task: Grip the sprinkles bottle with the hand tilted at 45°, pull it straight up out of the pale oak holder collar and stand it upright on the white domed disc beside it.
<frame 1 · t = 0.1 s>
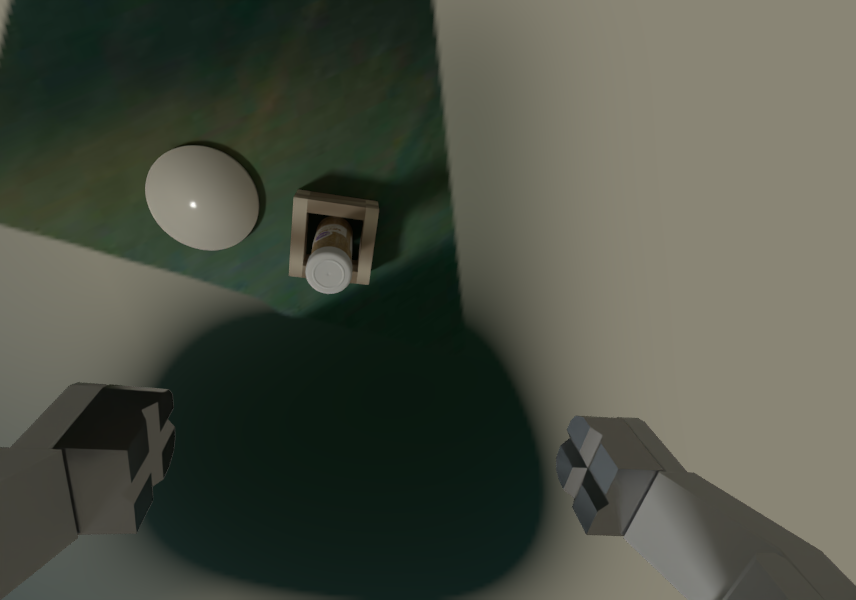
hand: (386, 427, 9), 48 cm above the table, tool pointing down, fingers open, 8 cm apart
white domed disc: (205, 199, 52), on the table
sprinkles bottle: (334, 232, 56), resting in holder collar
holder collar: (334, 233, 56), on the table
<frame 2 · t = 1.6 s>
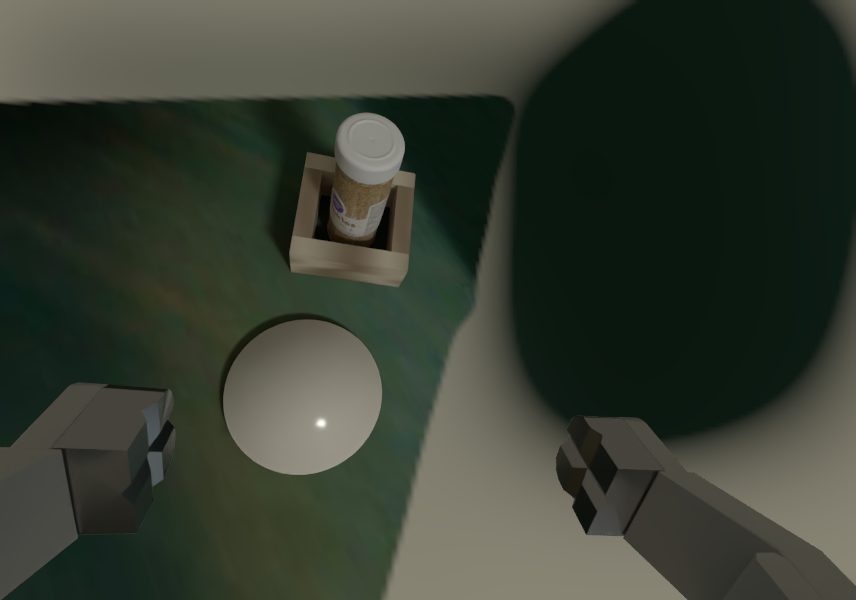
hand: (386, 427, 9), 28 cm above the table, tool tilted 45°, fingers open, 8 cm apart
white domed disc: (306, 394, 36), on the table
sprinkles bottle: (352, 233, 42), resting in holder collar
holder collar: (352, 231, 41), on the table
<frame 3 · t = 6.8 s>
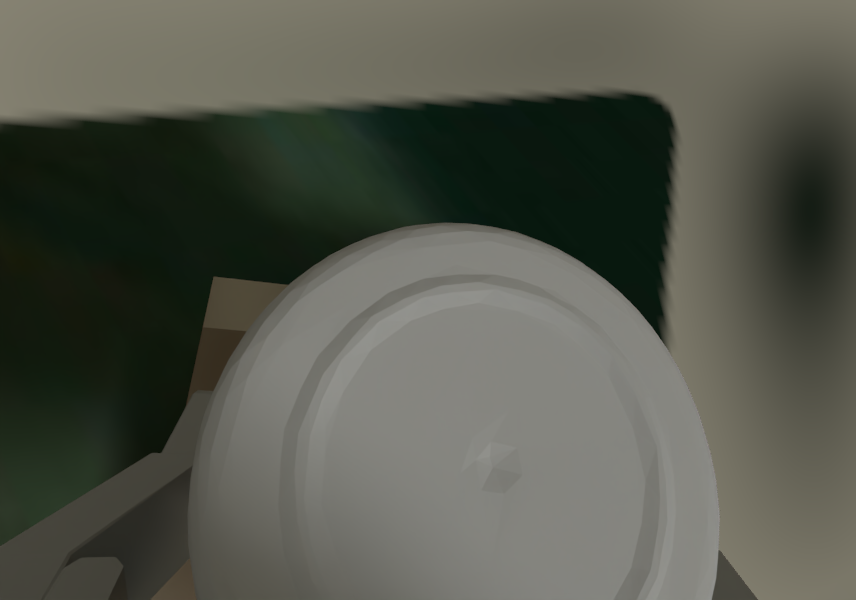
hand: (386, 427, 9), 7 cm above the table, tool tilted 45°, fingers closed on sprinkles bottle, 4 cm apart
sprinkles bottle: (354, 460, 16), resting in holder collar, touching gripper
holder collar: (355, 459, 16), on the table
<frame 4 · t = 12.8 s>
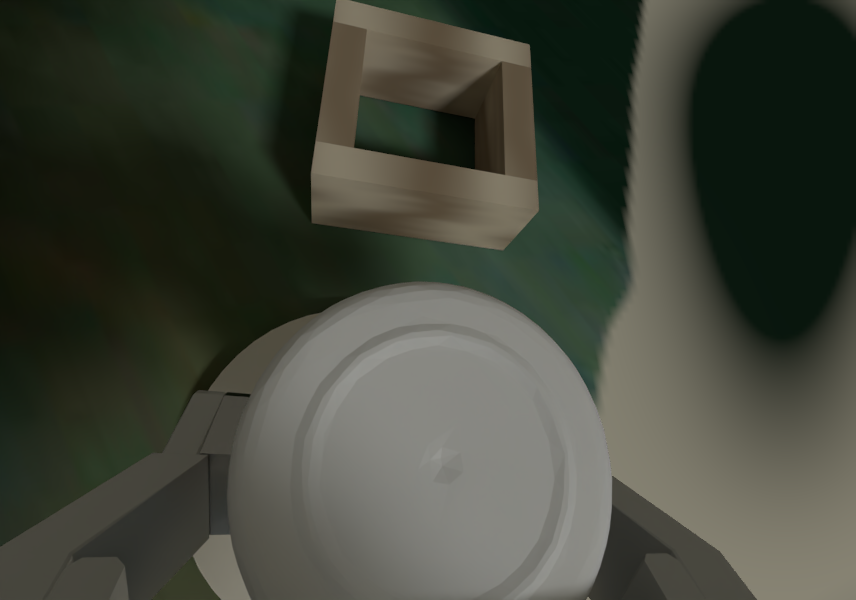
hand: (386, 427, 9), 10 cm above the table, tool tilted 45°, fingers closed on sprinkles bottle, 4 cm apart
white domed disc: (350, 458, 18), on the table
sprinkles bottle: (349, 460, 17), point 1 cm above the table, touching white domed disc, gripper
holder collar: (415, 156, 24), on the table
when the fingers open (10 cm above the table, at t = 13.5 s): sprinkles bottle stays where it is, resting on white domed disc.
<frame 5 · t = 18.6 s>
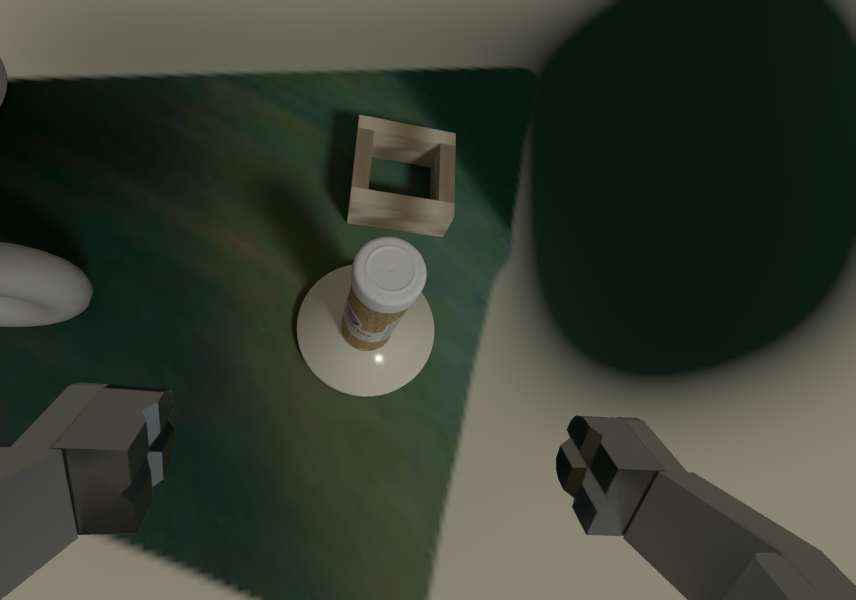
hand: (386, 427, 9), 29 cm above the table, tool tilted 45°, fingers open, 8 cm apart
white domed disc: (367, 328, 40), on the table
sprinkles bottle: (366, 327, 39), point 1 cm above the table, touching white domed disc
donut: (42, 310, 35), on the table
holder collar: (398, 188, 46), on the table
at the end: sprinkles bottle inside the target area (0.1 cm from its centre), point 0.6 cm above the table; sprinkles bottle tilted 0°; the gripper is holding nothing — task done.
